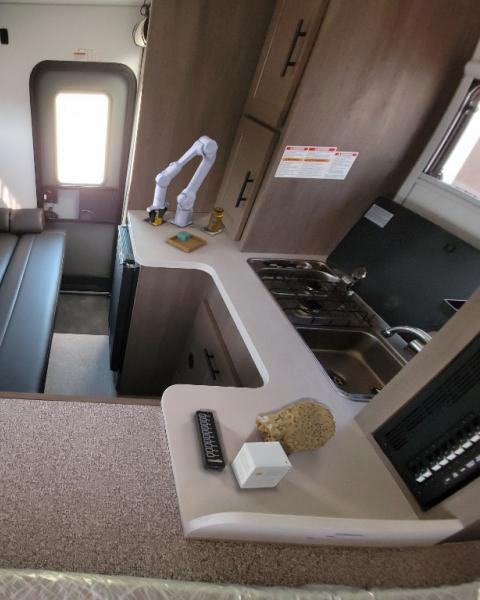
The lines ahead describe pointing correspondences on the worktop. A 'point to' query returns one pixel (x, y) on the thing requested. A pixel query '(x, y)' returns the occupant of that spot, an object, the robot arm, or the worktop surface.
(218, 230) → the condiment
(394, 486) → the worktop surface
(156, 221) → the block
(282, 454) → the small box
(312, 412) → the sponge
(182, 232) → the packet teal
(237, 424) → the worktop surface
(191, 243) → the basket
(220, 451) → the tool bit set
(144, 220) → the mat
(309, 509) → the worktop surface
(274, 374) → the worktop surface
